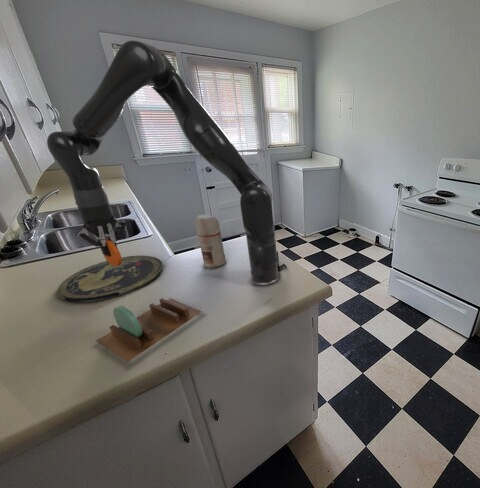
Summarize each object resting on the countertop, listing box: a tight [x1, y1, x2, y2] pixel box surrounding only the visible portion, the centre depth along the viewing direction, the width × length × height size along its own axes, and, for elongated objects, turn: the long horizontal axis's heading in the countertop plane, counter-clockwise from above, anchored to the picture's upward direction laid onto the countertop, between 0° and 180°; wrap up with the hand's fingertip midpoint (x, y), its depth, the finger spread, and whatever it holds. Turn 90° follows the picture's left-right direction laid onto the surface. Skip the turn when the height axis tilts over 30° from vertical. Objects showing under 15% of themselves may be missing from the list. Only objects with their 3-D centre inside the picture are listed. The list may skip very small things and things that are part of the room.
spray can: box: [193, 213, 227, 269], centre depth 102 cm, size 8×8×20 cm
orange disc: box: [102, 239, 122, 266], centre depth 88 cm, size 1×9×9 cm, turn 63°
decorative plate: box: [57, 255, 164, 304], centre depth 96 cm, size 30×2×30 cm
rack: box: [95, 297, 203, 362], centre depth 71 cm, size 20×14×4 cm
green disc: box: [112, 304, 142, 338], centre depth 65 cm, size 1×9×9 cm, turn 63°
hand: (111, 254), depth 88 cm, fingers closed on orange disc, 1 cm apart
